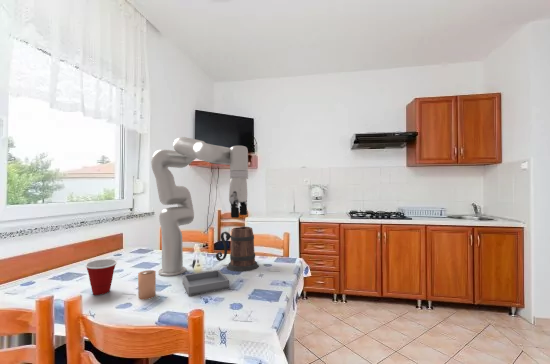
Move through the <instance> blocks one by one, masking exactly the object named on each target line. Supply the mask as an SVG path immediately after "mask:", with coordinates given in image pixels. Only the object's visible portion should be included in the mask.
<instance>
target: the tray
mask: <svg viewBox="0 0 550 364" xmlns="http://www.w3.org/2000/svg"><path fill="white" fill-rule="evenodd" d="M181 280H182V282H181V283H182V286H183V288H184V290H185V292H186V294H187V296H188V297H193V296H199V295H203V294H209V293H214V292H220V291H224V290H230V279H229V278H228V277H227V276H226V275H225V274H224V273H223V272H222V271H221V270H220V269H216V270H215V269H214V270H210V271H209V270H208V271H202V272H201V271H200V272H196V273H188V274H183V275H182V279H181Z"/></svg>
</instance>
